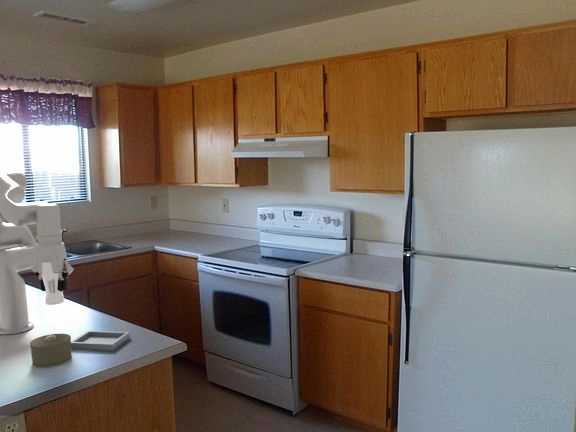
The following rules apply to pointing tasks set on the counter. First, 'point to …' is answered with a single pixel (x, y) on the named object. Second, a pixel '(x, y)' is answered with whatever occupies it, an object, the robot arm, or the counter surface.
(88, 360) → the counter surface
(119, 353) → the counter surface
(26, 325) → the robot arm
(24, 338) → the counter surface
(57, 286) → the beer glass
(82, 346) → the tray
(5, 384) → the counter surface
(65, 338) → the can
